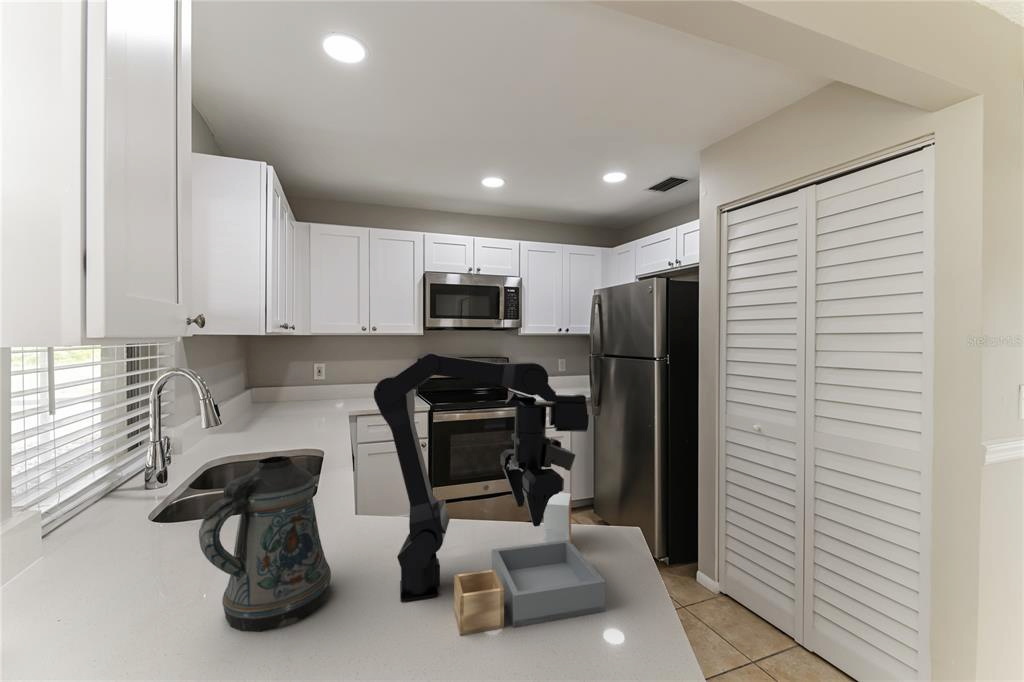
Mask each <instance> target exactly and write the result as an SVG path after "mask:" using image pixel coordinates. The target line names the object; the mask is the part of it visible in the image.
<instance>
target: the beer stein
mask: <svg viewBox="0 0 1024 682" xmlns="http://www.w3.org/2000/svg"><path fill="white" fill-rule="evenodd" d="M316 485H317V479H316V477H315V476H314V475H313V474H312V473H310V472H309V471H308V470H306V469H304V468H302V467H300V466H298V465H297V464H295V463H293V462H292V460H291V458H290V456H286V455H278V456H277V455H276V456H275V455H274V456H270V457H266V458H263V459H260V460H259V461H257V464H256V466H255V468H253V469H252V470H251V471H250V472H249V473H248V474H247V475H244V476H240V477H238V478H235V479H232V480H230V481H229V482H227V483H226V484H225V486H224V489H223V498H221V499H220V500H217V501H215V502H214V503H213V504H212V505H210V506H209V507H208V509H206V511H205V512H204V514H203V519H202V521H201V524H200V527H199V529H198V541H199V546H200V549H201V552H202V554H203V555H204V556H205V558H206V559H207V560H208V562H210V563H211V564H212V565H213V566H214V567H216V568H217V569H218V570H219V571H222V572H224V573H225V574H227V575H230V576H229V580H228V582H227V586H226V587H225V590H224V592H223V595H222V602H221V604H222V608H223V611H224V615H225V617H224V618H225V619H226V621H227V622H228V624H229V626H230V627H231V628H232V629H236V630H238V631H240V632H249V633H251V632H254V633H260V632H261V633H262V632H268V631H272V630H277V629H282V628H284V627H287V626H290V625H293V624H296V623H299V622H300V621H302V620H303V619H305V618H307V617H308V616H310V615H312V614H313V613H314V612H315V611H316V610H318V609H319V608H321V607H322V605H323V604H324V603H325V601H326V600H327V599H328V591H329V587H330V582H331V577H332V571H331V568H330V565H329V563H328V561H327V558H326V555H325V553H324V549H323V545H322V541H321V538H320V532H319V527H318V520H317V515H316V509H315V508H316V507H315V503H314V497H313V496H314V492H315V490H316ZM238 515H239V518H238V522H237V530H236V535H235V542H234V548H233V550H234V551H233V555H232V553H230V552H229V551H228V550H227V549H226V548H225V547H224V546H223V544H222V542H221V539H220V537H221V536H220V535H221V530H222V527H223V526H224V524H225V522H226V521H227V520H228V519H230V517H233V516H238Z"/></svg>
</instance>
